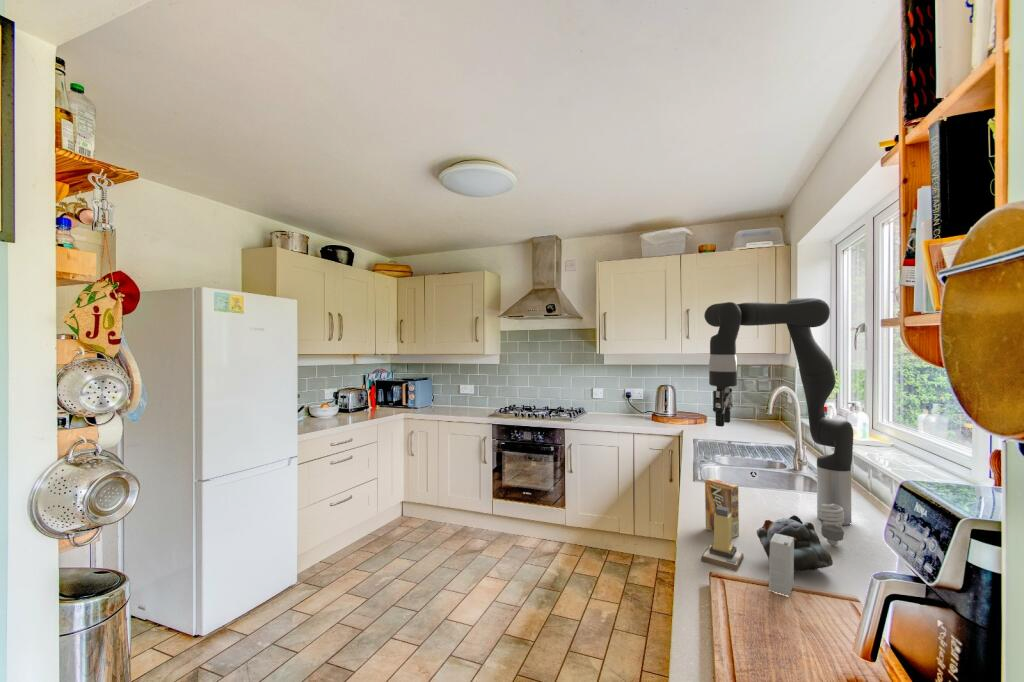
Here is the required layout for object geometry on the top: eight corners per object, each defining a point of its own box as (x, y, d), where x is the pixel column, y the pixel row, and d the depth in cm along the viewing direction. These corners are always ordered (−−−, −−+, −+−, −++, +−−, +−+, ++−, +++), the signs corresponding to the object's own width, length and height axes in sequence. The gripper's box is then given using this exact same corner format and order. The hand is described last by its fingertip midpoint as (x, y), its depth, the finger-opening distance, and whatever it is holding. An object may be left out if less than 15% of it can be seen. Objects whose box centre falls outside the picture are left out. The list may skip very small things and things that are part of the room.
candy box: (739, 535, 135) (739, 485, 136) (731, 539, 133) (731, 487, 133) (712, 526, 143) (712, 477, 143) (704, 529, 140) (704, 480, 141)
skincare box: (773, 581, 109) (773, 531, 109) (794, 588, 106) (794, 536, 106) (768, 592, 104) (767, 540, 104) (790, 599, 101) (790, 545, 102)
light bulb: (840, 543, 130) (840, 501, 131) (847, 551, 125) (847, 508, 125) (817, 540, 132) (817, 499, 132) (824, 548, 127) (823, 506, 127)
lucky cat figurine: (767, 575, 112) (749, 516, 119) (770, 575, 121) (754, 520, 128) (837, 571, 105) (814, 508, 112) (835, 571, 115) (814, 514, 121)
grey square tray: (708, 549, 126) (708, 540, 126) (743, 558, 121) (743, 548, 121) (701, 560, 120) (701, 550, 120) (737, 570, 114) (737, 560, 114)
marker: (731, 544, 122) (731, 507, 122) (728, 549, 119) (728, 511, 119) (717, 541, 124) (717, 505, 124) (714, 546, 121) (714, 508, 121)
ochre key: (716, 547, 125) (716, 540, 125) (733, 551, 122) (733, 544, 122) (712, 553, 121) (712, 545, 121) (730, 557, 118) (730, 550, 118)
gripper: (731, 371, 126) (732, 429, 125) (741, 369, 137) (741, 422, 137) (703, 370, 130) (703, 426, 130) (714, 368, 142) (715, 419, 141)
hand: (723, 424), depth 133 cm, fingers open, 8 cm apart
